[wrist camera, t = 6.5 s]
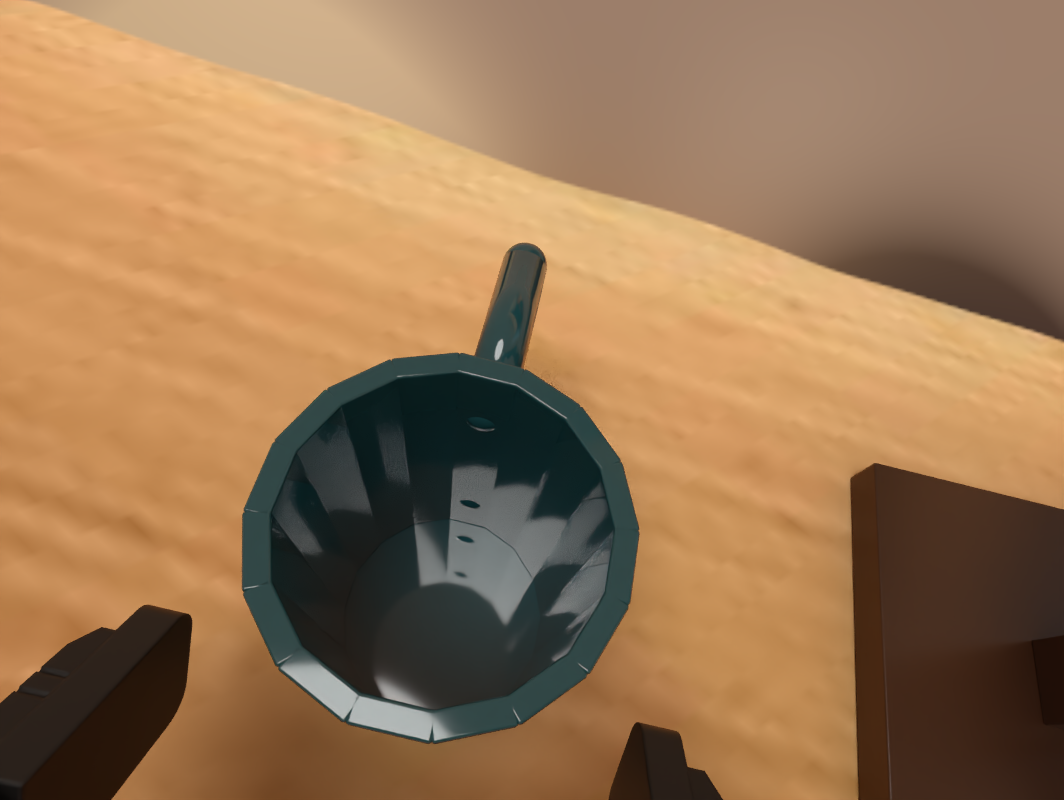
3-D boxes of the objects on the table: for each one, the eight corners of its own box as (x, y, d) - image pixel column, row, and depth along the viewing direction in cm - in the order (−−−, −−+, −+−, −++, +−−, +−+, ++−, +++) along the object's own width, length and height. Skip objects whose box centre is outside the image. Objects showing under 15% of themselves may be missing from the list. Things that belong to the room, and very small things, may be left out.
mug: (525, 762, 18) (606, 786, 9) (298, 708, 18) (166, 682, 9) (590, 417, 24) (681, 225, 15) (413, 373, 23) (397, 154, 15)
